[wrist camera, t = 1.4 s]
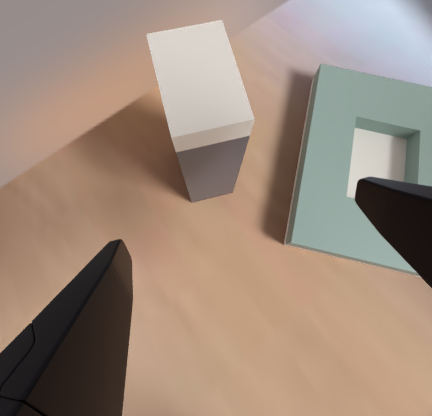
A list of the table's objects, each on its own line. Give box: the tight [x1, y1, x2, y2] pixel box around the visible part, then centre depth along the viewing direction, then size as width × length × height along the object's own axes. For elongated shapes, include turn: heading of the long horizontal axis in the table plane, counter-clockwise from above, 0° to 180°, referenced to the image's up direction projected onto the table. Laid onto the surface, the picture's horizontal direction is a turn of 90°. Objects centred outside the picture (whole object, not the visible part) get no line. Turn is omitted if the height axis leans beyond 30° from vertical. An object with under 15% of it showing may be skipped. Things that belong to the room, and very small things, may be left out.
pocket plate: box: [284, 64, 432, 278], centre depth 23 cm, size 18×14×2 cm
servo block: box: [147, 20, 255, 202], centre depth 18 cm, size 6×4×12 cm, turn 15°
